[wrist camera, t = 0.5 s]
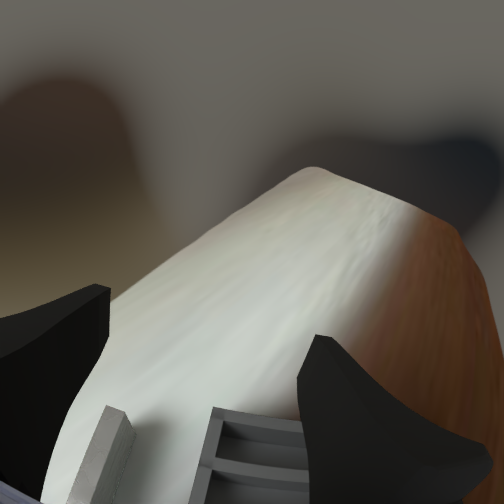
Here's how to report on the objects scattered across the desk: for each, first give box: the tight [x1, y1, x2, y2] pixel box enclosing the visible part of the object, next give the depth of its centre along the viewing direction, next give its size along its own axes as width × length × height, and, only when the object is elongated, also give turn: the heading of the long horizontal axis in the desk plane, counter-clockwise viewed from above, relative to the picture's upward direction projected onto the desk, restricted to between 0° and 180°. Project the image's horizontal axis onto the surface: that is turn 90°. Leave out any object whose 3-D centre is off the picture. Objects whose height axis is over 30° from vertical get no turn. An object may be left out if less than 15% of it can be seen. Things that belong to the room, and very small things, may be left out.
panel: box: [66, 405, 136, 504], centre depth 17 cm, size 12×2×5 cm, turn 172°
